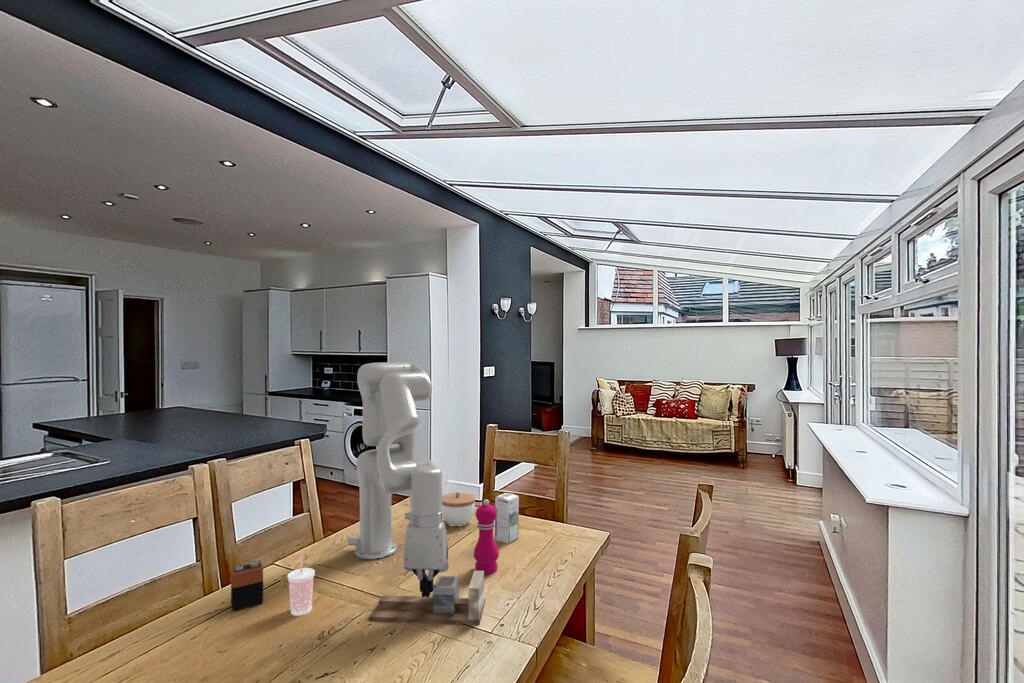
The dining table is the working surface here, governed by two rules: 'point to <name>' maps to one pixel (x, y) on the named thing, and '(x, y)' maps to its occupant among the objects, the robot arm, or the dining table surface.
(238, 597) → the battery
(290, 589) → the beverage cup
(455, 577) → the block
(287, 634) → the dining table surface
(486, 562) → the pepper mill
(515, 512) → the syrup box
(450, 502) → the lidded bowl
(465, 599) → the rail
